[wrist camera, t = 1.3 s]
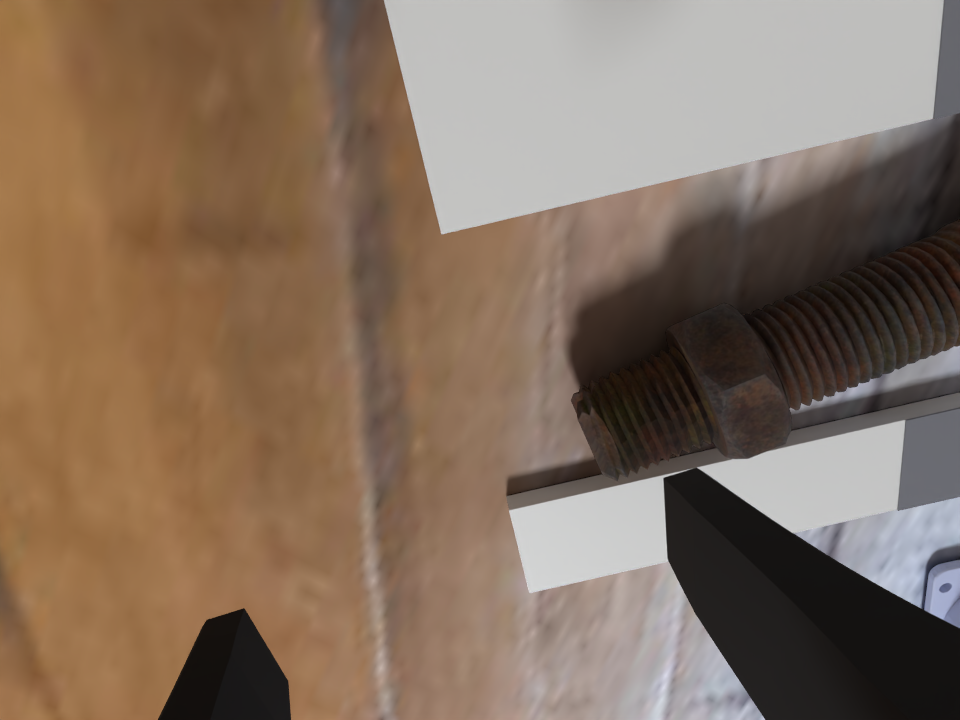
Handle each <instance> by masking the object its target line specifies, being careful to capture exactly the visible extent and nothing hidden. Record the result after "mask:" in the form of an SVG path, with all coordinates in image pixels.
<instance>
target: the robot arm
mask: <svg viewBox="0 0 960 720" xmlns="http://www.w3.org/2000/svg"><path fill="white" fill-rule="evenodd" d="M663 483H664V502H665V522H666V541H667V559H668V561H669V563H670V565H671V567H672V569H673V571H674V573H675V575H676V577H677V579H678V581H679V583H680V585H681V587H682V589H683V591H684V593H685V595H686V596H687V598H688V600H689V602H690V604H691V606H692V608H693V610H694V612H695V614H696V615H697V617H698V618H699V620H700V621H701V623H702V624H703V626H704V627H705V629H706V631H707V632H708V634H709V635H710V637H711V638H712V640H713V641H714V643H715V644H716V646H717V647H718V649H719V650H720V652H721V653H722V655H723V656H724V658H725V659H726V661H727V663H728V664H729V666H730V667H731V669H732V670H733V672H734V673H735V675H736V676H737V678H738V679H739V681H740V682H741V684H742V685H743V687H744V688H745V690H746V691H747V693H748V694H749V696H750V697H751V699H752V700H753V702H754V703H755V705H756V706H757V708H758V709H759V711H760V712H761V714H762V715H763V717H764V718H765V720H960V560H955V561H951V562H946V563H942V564H939V565H936V566H935V567H933V568H932V569H931V571H930V573H929V576H928V584H927V592H926V600H925V608H924V610H923V609H921V608H919V607H917V606H915V605H913V604H911V603H910V602H908V601H906V600H904V599H902V598H900V597H898V596H897V595H895V594H893V593H891V592H889V591H888V590H886V589H884V588H882V587H880V586H879V585H877V584H875V583H873V582H872V581H870V580H868V579H867V578H865V577H863V576H861V575H860V574H858V573H856V572H855V571H853V570H851V569H849V568H848V567H846V566H844V565H843V564H841V563H839V562H838V561H836V560H834V559H833V558H831V557H830V556H828V555H826V554H825V553H823V552H822V551H820V550H818V549H817V548H815V547H814V546H812V545H811V544H809V543H807V542H806V541H804V540H803V539H801V538H800V537H798V536H796V535H795V534H793V533H792V532H790V531H789V530H787V529H786V528H784V527H783V526H781V525H780V524H778V523H777V522H775V521H774V520H772V519H771V518H769V517H768V516H766V515H765V514H763V513H762V512H760V511H759V510H757V509H756V508H755V507H753V506H752V505H750V504H749V503H747V502H746V501H744V500H743V499H742V498H740V497H739V496H737V495H736V494H734V493H733V492H732V491H730V490H729V489H727V488H726V487H724V486H723V485H722V484H720V483H719V482H717V481H716V480H715V479H713V478H712V477H710V476H709V475H708V474H706V473H705V472H703V471H702V470H700V469H698V468H693V469H690V470H687V471H684V472H681V473H677V474H674V475H671V476H668V477H664V478H663ZM158 720H291V713H290V699H289V685H288V680H287V678H286V677H285V675H284V673H283V672H282V670H281V668H280V667H279V665H278V663H277V662H276V660H275V658H274V657H273V655H272V653H271V652H270V650H269V648H268V647H267V645H266V643H265V642H264V640H263V638H262V637H261V635H260V634H259V632H258V630H257V629H256V627H255V625H254V624H253V622H252V620H251V619H250V617H249V615H248V614H247V612H246V610H245V609H240V610H237V611H234V612H231V613H228V614H224V615H221V616H218V617H215V618H212V619H208V620H206V622H205V624H204V625H203V627H202V629H201V631H200V633H199V635H198V637H197V639H196V641H195V643H194V646H193V648H192V650H191V652H190V654H189V656H188V658H187V660H186V663H185V665H184V667H183V669H182V671H181V673H180V675H179V677H178V679H177V681H176V684H175V686H174V688H173V690H172V692H171V694H170V696H169V698H168V700H167V702H166V704H165V706H164V708H163V710H162V712H161V714H160V716H159V718H158Z"/></svg>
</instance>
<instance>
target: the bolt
mask: <svg viewBox="0 0 960 720" xmlns="http://www.w3.org/2000/svg"><path fill="white" fill-rule="evenodd" d="M666 338H667V343H668V347H669V349H670V352H669V353H667V352H664V351H660V356H659V358H658V357H656V356H654V355H650V360H649V362H647V361H645V360H643V359H641V360H640V364H639V366H638V365H635V364H632V363H631V364H630V369H629V370H626V369H624V368H620V372H619V375H617V374H614V373H611V372H610V375H609V379H605V378H603V377H600V378H599V384H597V383H595V382H594V381H592V380H591V381H590V385H589V388H587V387H585V386H583V385H581V386H580V390H579V392H577V393H574V394H573V397H572V399H571V402H572V404H573V406H574V408H575V411H576V413H577V418H578V421H579V423H580V425H581V428H582V430H583V432H584V434H585V437H586V439H587V441H588V444H589V446H590V448H591V450H592V453H593V455H594V457H595V459H596V461H597V464H598V466H599V468H600V470H601V472H602V474H603V475H604V476H607V477H609V478H611V479H613V480H616V481H618V480H619V475H620V474H621V475H623V476H625V477H627V478H628V476H629V473H630V470H631V471H633V472H634V473H636V474H637V473H638V471H639V468H640V466H642V467H643V468H645V469H647V470H648V468H649V465H650V462H652V463H654V464H656V465H657V466H658V465H659V462H660V459H661V458H663V459H665V460H666V461H668V462H669V459H670V456H671V454H674V455H675V456H677V457H679V456H680V453H681V451H682V449H683V450H685V451H686V452H688V453H690V451H691V448H692V445H693V446H695V447H697V448H699V449H700V448H701V445H702V442H703V441H704V442H706V443H708V444H710V445H711V443H712V441H713V443H714V445H715V446H716V447H717V449H718V450H719V451H720V453H721V454H722V455H724V456H725V457H726V458H731V459H749V458H752V457H754V456H757V455H759V454H762V453H764V452H767V451H769V450H772V449H774V448H777V447H779V446H782V445H784V444H786V441H787V439H788V436H789V434H790V432H791V428H792V421H791V412H790V407H791V408H793V409H795V410H799V409H800V406H801V403H802V404H804V405H807V406H810V405H811V402H812V399H814V400H816V401H822V400H823V397H824V395H825V396H827V397H829V396H834V394H835V392H836V391H837V392H844V391H846V389H847V387H849V388H851V387H857V386H858V384H859V383H866V382H869V380H870V378H871V379H874V378H879V377H881V375H882V374H888V373H891V372H893V371H894V369H900V368H902V367H904V366H906V365H907V364H911V363H915V362H916V361H918V360H919V359H926V358H927V357H929V356H930V355H933V356H934V355H936V354H938V353H939V352H941V351H947V350H949V349H950V348H952V347H953V346H960V219H959V220H957V221H955V222H953V223H950V224H948V225H946V226H944V227H942V228H940V229H939V230H938V232H937V233H935V234H934V235H932V236H930V237H927V238H923V239H921V240H919V241H916V242H914V243H911V244H910V245H908V246H907V247H906V246H905V247H902V248H900V249H897V250H896V251H895V252H894V251H893V252H890V253H889V254H887V255H885V256H884V257H880V258H876V259H875V260H874V261H873V262H867V263H866V264H864V265H862V266H861V267H856V268H854V269H852V270H851V271H849V272H843V273H842V274H841V275H839V276H836V277H832V278H830V279H829V280H828V281H825V282H820V283H818V285H817V286H811V287H809V288H808V289H806V290H805V291H803V290H802V291H799V292H798V293H797V294H795V295H794V296H787V297H786V298H785V300H777V301H776V302H775V303H774V304H773V306H772V305H766V306H765V307H764V308H763V310H762V311H761V310H755V311H753V313H752V316H751V315H749V314H745V315H743V316H742V315H741V314H740V313H739V312H738V311H737V310H736V309H735V308H734V307H732V306H731V305H728V304H725V303H723V304H721V305H718V306H716V307H714V308H712V309H709V310H707V311H705V312H702V313H700V314H698V315H695V316H693V317H691V318H688V319H686V320H684V321H682V322H679V323H677V324H675V325H672V326H670V327H668V329H667V331H666Z"/></svg>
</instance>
